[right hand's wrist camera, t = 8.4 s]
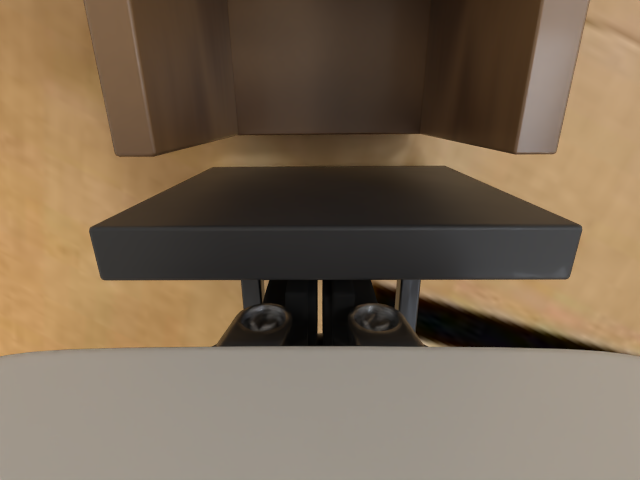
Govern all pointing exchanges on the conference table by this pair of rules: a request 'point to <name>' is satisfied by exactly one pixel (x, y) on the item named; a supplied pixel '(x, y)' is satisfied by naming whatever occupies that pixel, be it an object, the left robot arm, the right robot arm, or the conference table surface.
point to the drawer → (335, 118)
